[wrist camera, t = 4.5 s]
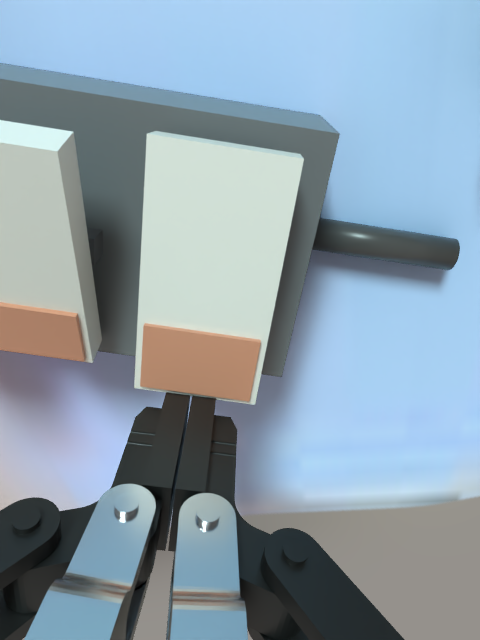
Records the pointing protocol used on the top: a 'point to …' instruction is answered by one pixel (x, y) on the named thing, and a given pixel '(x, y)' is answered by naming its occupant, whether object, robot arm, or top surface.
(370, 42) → the top surface
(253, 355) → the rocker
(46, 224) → the rocker
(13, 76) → the power strip
